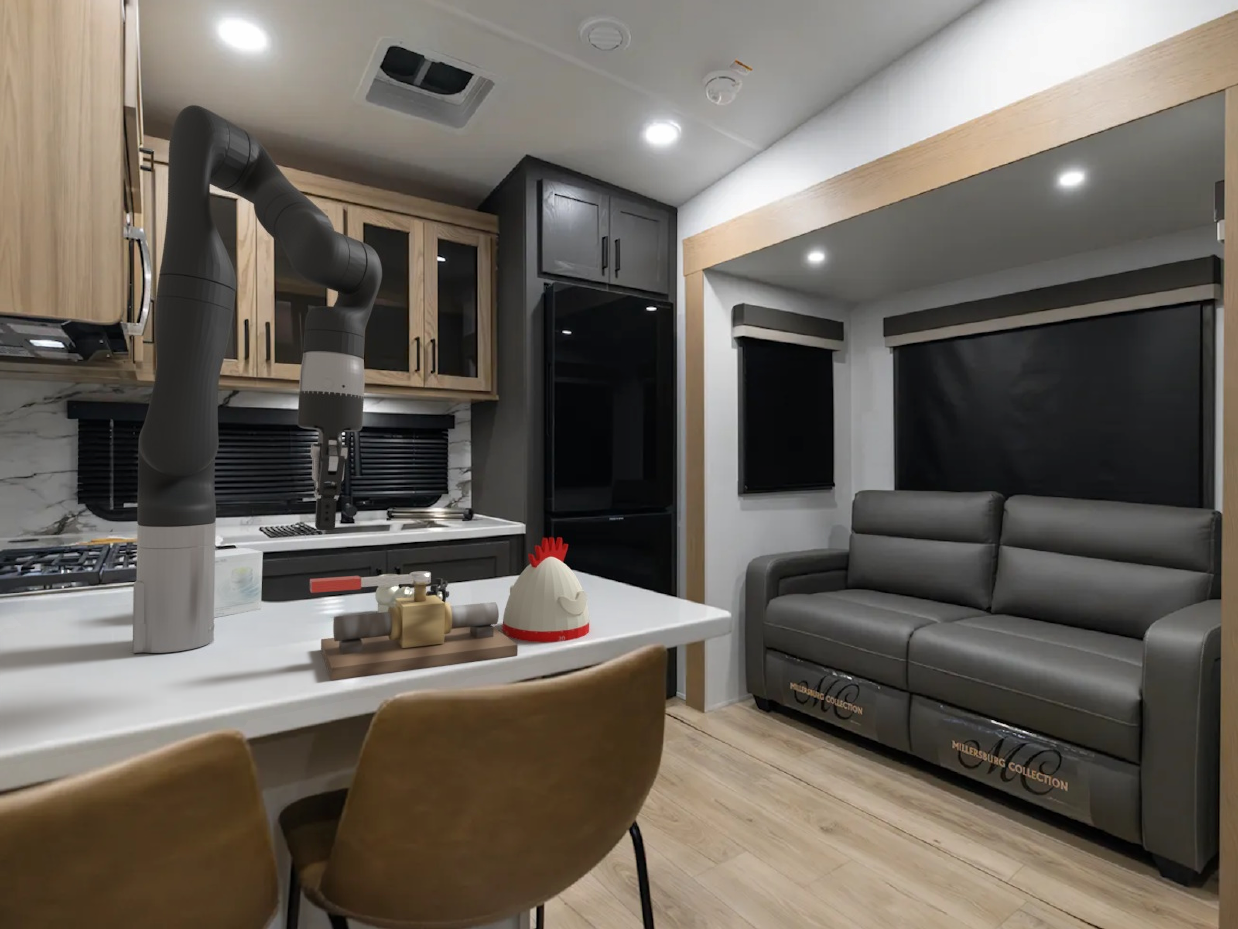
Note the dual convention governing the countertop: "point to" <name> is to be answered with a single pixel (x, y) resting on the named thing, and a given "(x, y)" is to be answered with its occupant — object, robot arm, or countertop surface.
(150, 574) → the robot arm
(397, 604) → the valve pipe
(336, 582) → the valve lever
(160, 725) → the countertop surface
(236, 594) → the skincare box
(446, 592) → the valve
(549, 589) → the kitchen timer
